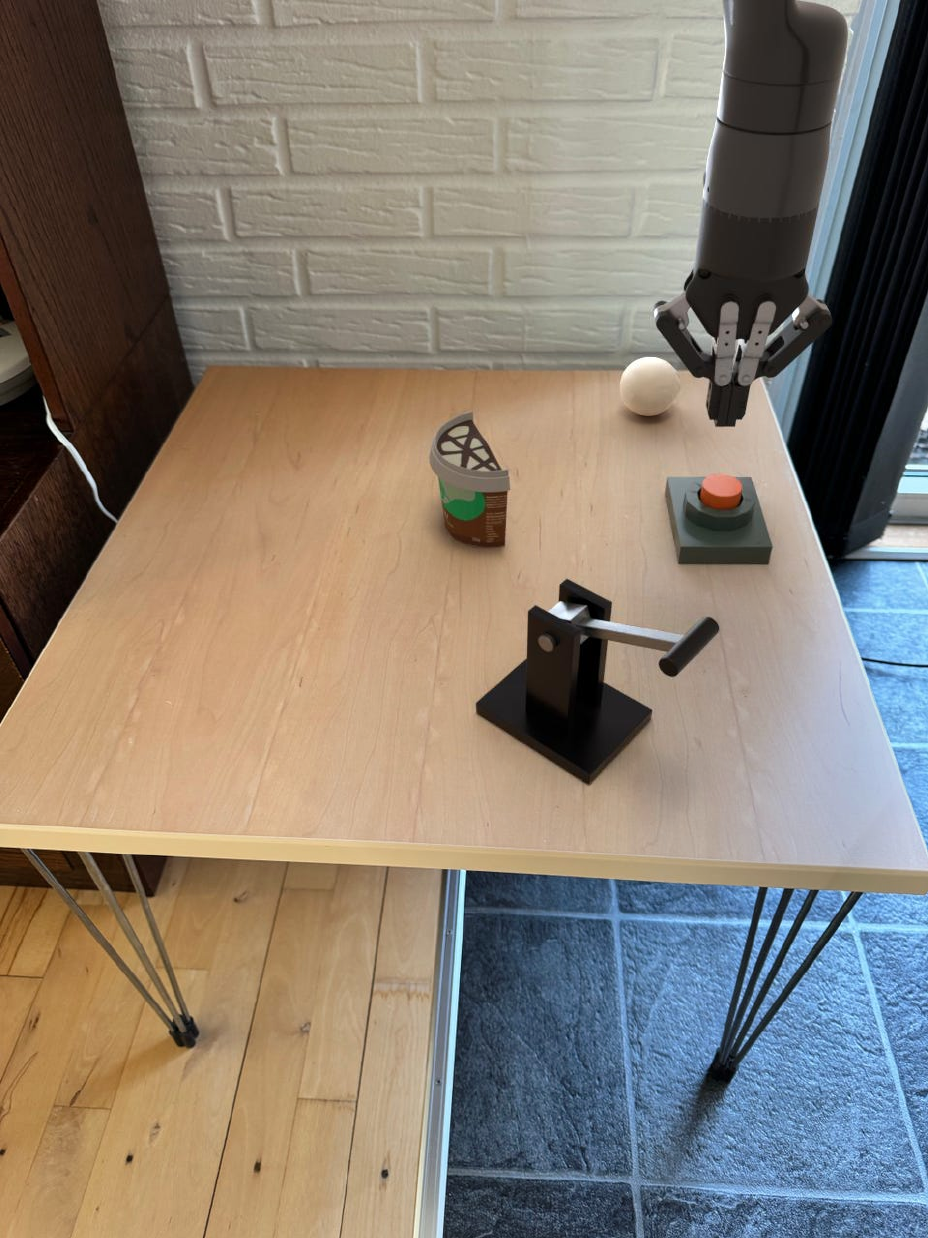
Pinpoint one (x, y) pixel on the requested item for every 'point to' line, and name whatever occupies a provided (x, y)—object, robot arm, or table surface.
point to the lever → (642, 635)
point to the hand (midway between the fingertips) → (723, 421)
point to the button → (721, 492)
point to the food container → (470, 483)
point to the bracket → (566, 693)
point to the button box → (716, 525)
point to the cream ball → (649, 386)
